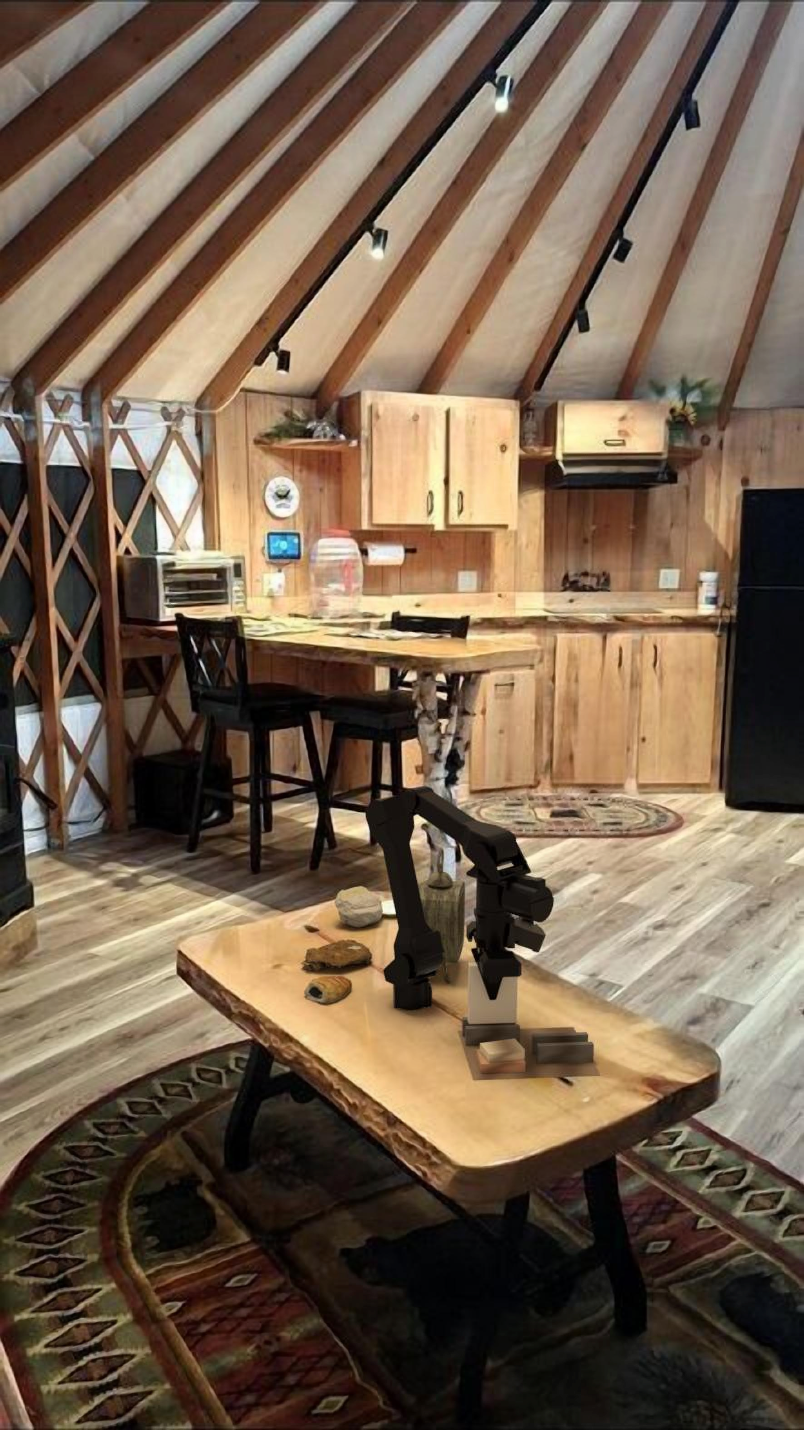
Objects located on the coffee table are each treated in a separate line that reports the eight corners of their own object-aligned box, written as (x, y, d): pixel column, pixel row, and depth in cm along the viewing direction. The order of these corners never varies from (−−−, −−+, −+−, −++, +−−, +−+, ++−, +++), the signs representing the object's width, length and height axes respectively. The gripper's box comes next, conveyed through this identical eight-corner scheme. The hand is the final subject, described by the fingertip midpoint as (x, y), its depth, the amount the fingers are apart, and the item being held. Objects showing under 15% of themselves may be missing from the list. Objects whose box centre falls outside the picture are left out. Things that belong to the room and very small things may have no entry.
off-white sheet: (468, 1024, 169) (469, 966, 168) (467, 1019, 170) (468, 962, 169) (516, 1022, 170) (517, 965, 168) (514, 1018, 171) (516, 961, 170)
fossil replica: (392, 919, 234) (352, 917, 237) (390, 883, 233) (350, 882, 237) (371, 932, 222) (329, 930, 226) (369, 894, 222) (328, 893, 226)
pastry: (334, 983, 198) (335, 964, 197) (361, 992, 194) (361, 973, 193) (301, 998, 190) (301, 979, 190) (327, 1008, 186) (328, 988, 186)
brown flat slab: (325, 985, 198) (382, 967, 208) (326, 965, 197) (383, 948, 207) (289, 965, 206) (345, 949, 216) (290, 946, 205) (346, 930, 215)
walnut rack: (473, 1089, 157) (473, 1061, 156) (457, 1039, 174) (458, 1014, 173) (600, 1084, 159) (601, 1057, 158) (573, 1035, 175) (573, 1010, 175)
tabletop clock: (455, 988, 195) (457, 861, 192) (409, 984, 197) (409, 858, 193) (464, 959, 209) (465, 841, 206) (420, 956, 211) (421, 839, 207)
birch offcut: (489, 1063, 159) (489, 1054, 159) (479, 1052, 163) (479, 1043, 162) (524, 1058, 161) (524, 1049, 160) (514, 1047, 164) (514, 1038, 164)
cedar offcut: (480, 1073, 159) (481, 1064, 159) (475, 1058, 164) (476, 1049, 164) (525, 1071, 159) (525, 1062, 159) (518, 1056, 164) (519, 1047, 164)
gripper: (554, 925, 159) (552, 1020, 161) (530, 888, 177) (527, 974, 179) (484, 926, 158) (482, 1022, 160) (466, 889, 176) (465, 975, 178)
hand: (491, 997), depth 169 cm, fingers closed on off-white sheet, 2 cm apart
